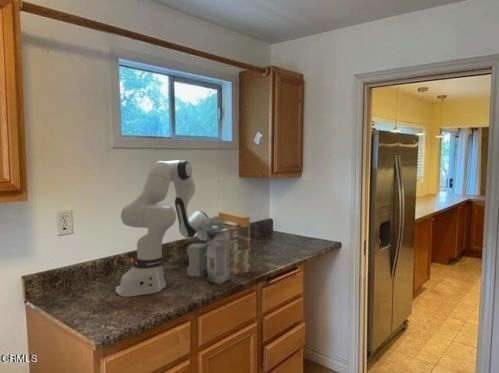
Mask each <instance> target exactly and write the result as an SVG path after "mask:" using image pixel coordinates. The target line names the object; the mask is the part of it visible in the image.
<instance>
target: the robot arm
mask: <svg viewBox="0 0 499 373" xmlns="http://www.w3.org/2000/svg"><path fill="white" fill-rule="evenodd" d="M192 169H193V168H192V166H191V163H190V162H188V160H185V159H184V160H183V159H180V160H166V161H163V160H158V161H156V162H154V164H152V166H151V167H150V170H149V172H148V174H147V177H146V181H145V184H144V186H143V189H142V191H141V192H140V194H139V196H137V198H136V199H135V200H133V201H132V202H130V203H129V204H127V205H125V206H124V207H123V208H122V210H121V213H120V219H121V222H122V223H123V225H125V226H127V227H131V228H138V229H139V228H142V229H143V228H146V229H147V233H146V234H145V235H143V236H141V237H140V238H138V241H137V243H136V252H137V253H136V256H137V257H136V258H135V259H134V258H133V257H132V258H130V259H129V263H130V264H133V266H132V267H131V268H130V269H128V270H127V272H125V273H124V274H123V275H122V276H121V279H120V285H117V286H116V287H115V293H116V294H117V295H119V296H120V297H124V298H129V297H136V296H142V295H143V296H144V295H150V294H155V293H159V292H161V291H162V290H163V289H164V288H165V287H166V286H167V283H166V281H165V276H164V270H163V269H164V258H163V257H164V256H163V255H162V254H163V252H162V249H163V248H162V247H163V238H164V235H165V234H166V233H167V231H168V230H169V229H170V228H171V227H172V226H174V224H175V222H176V219H178V229H179V232H180V234H181V236H183V237H184V238H187V239H188V238H189V239H190V238H193V237H194V236H195V235H196V237H197V239H199V240H201V241H207V232H206V231H207V230H211V229H212V226H218V227H219V228H221V222H227V221H223V220H220V219H219V215H214V216H213V217H209V216H208V215H207V214H206V213H205V212H204V211H203V210H195V211H193V212H192V213H191V214H190V215H189V213H188V206H189V203H190V201H191V199H192V198H193V197H194V196H195V193H196V184H195V181H194V178H193V176H192V173H193V171H192ZM171 183H172V184H173V186H174V190H175V200H174V205H175V209H174V206H171V205H167V204H161V202H163V201H164V200H165V199H166V198H167V195H168V192H169V187H170V184H171Z"/></svg>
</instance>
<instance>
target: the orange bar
mask: <svg viewBox="0 0 499 373" xmlns="http://www.w3.org/2000/svg"><path fill="white" fill-rule="evenodd" d="M218 217H219V219H220V220H223V221H227V222H231V223H235V224H239V225H243V226H244V225H250V226H251V222H250V216H247V215H242V214H237V213H233V212H229V211H218Z"/></svg>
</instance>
